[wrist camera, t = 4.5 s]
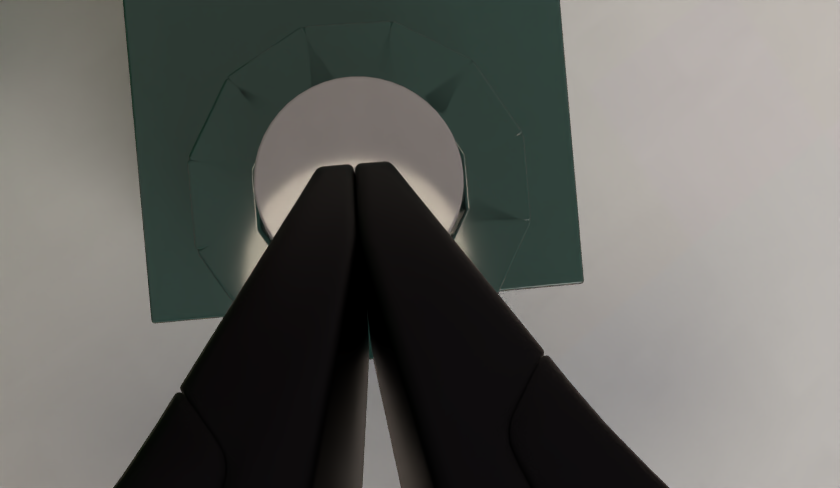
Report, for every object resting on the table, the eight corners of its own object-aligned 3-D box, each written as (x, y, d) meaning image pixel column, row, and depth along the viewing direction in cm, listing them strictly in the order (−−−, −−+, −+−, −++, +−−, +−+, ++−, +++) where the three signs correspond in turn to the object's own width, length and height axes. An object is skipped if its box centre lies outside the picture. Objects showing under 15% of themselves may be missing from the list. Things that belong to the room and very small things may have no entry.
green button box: (520, 298, 21) (619, 335, 12) (226, 325, 20) (121, 384, 12) (490, -51, 21) (569, -252, 12) (194, -34, 20) (65, -233, 12)
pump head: (454, 270, 13) (472, 275, 10) (283, 285, 12) (262, 295, 10) (440, 100, 13) (455, 68, 10) (267, 113, 12) (243, 83, 10)
